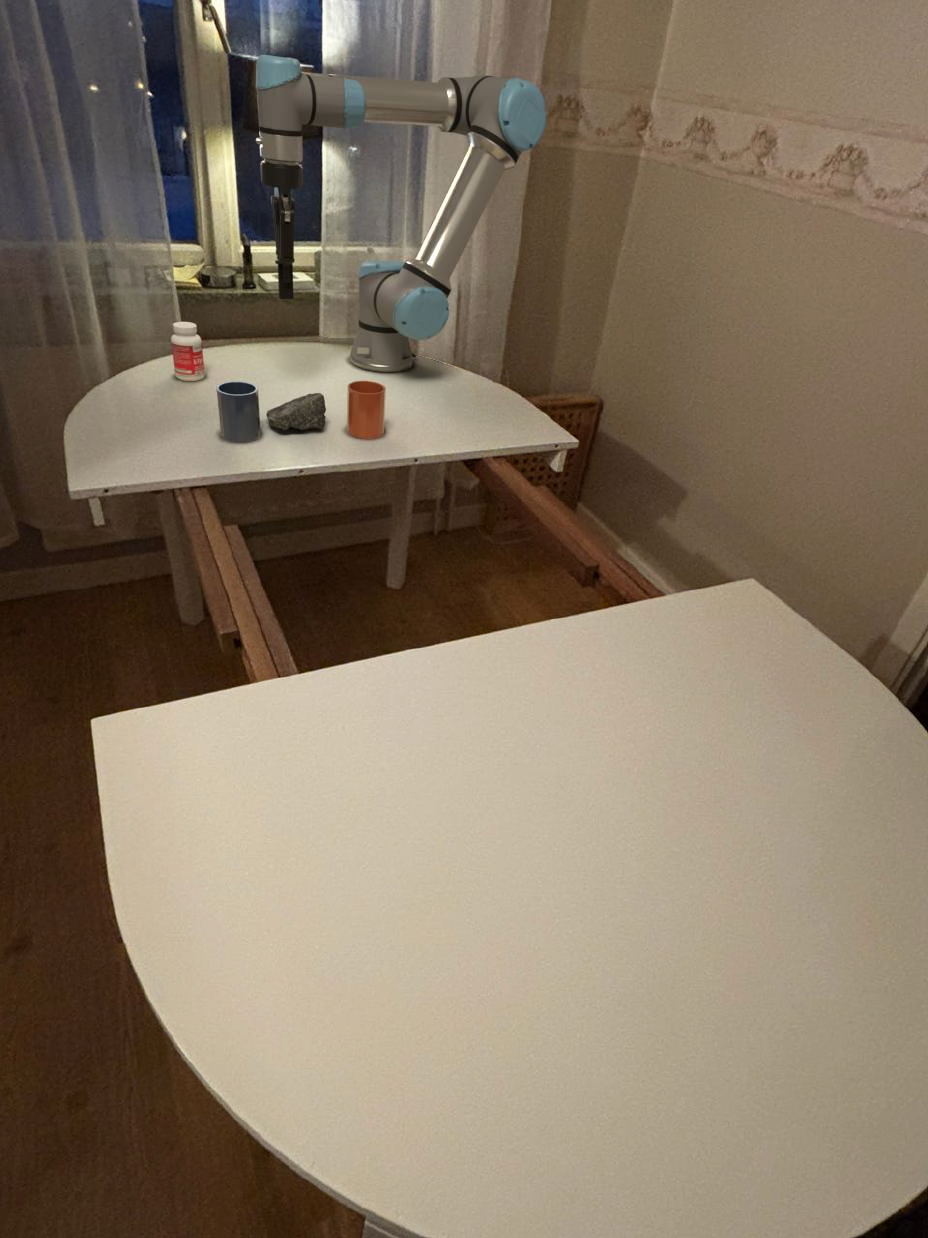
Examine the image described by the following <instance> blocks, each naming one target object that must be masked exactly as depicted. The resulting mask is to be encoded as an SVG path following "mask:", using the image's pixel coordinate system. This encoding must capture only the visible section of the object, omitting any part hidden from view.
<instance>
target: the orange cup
mask: <svg viewBox="0 0 928 1238" xmlns="http://www.w3.org/2000/svg"><path fill="white" fill-rule="evenodd" d="M346 389H347V391H346V392H347V394H346V395H347V396H346V397H347V398H346V431H347V433H348V435H350V436H352V437H354V438H358V439H363V440H372V439H378V438H380V437H383V435H384V431H385V417H386V393H387V391H386V386H385V385H383V384H382V383H379V382H377V381H376V382H375V381H373V380H372V381H371V380H357V381H352V382H349V383H348V384H347V388H346Z"/></svg>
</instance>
